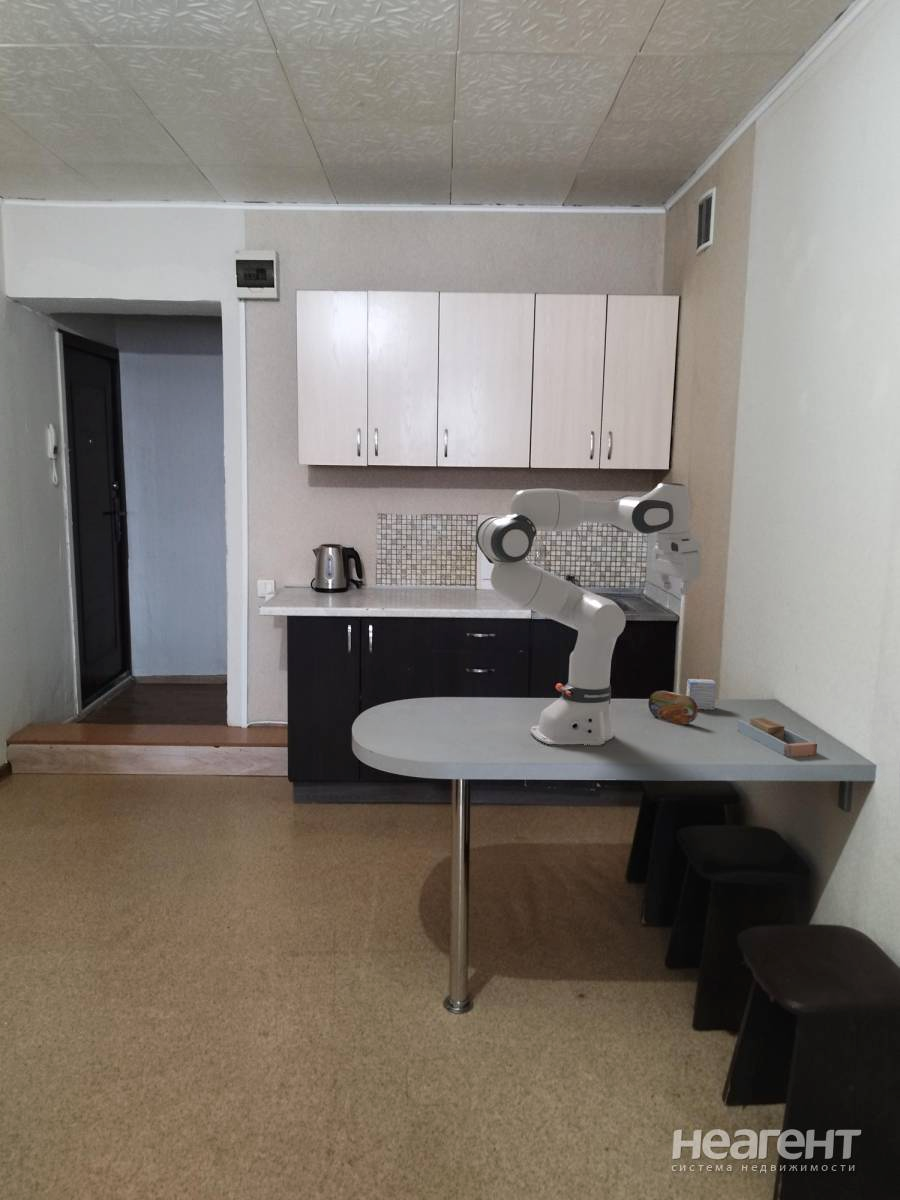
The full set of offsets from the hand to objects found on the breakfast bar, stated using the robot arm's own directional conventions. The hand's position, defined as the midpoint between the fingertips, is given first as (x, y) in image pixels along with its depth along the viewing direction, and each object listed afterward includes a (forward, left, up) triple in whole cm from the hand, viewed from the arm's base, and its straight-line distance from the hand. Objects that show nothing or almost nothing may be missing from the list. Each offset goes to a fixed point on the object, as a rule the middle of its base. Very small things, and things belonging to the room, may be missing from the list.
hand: (676, 592), depth 223 cm
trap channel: (+24, -16, -39) cm, 48 cm away
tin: (+6, +7, -40) cm, 41 cm away
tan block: (+24, -12, -40) cm, 47 cm away
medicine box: (+21, +17, -40) cm, 48 cm away
